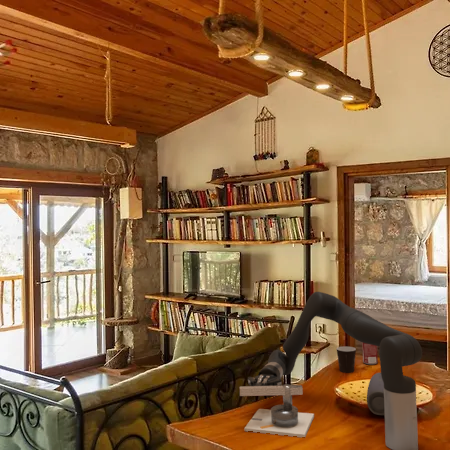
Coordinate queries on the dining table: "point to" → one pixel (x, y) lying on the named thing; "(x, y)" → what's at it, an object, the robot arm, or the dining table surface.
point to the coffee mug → (346, 359)
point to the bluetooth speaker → (376, 395)
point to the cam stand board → (264, 425)
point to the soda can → (369, 354)
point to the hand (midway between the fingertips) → (257, 389)
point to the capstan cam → (279, 413)
